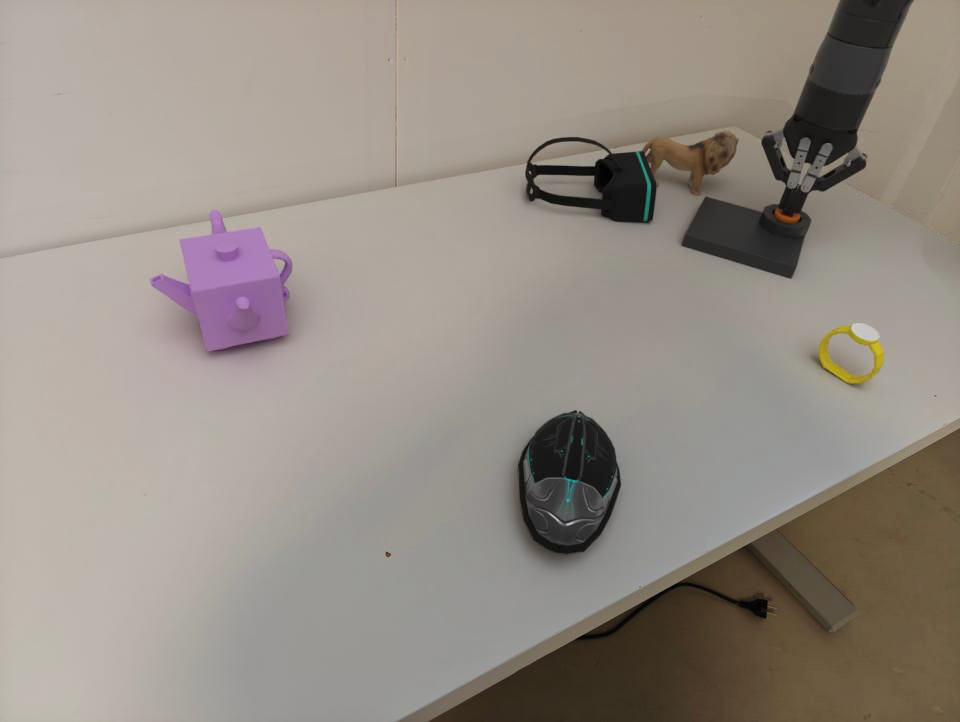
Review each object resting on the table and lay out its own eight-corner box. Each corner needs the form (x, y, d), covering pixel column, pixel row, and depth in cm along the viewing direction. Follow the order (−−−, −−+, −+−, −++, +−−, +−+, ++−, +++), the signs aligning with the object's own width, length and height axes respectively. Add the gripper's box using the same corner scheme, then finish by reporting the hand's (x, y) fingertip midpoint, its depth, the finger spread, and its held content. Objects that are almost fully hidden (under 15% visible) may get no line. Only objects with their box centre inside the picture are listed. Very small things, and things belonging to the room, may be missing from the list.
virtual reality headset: (652, 223, 93) (661, 153, 86) (527, 229, 94) (526, 159, 87) (639, 185, 101) (646, 118, 94) (524, 190, 102) (523, 124, 95)
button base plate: (803, 234, 94) (813, 212, 92) (791, 279, 86) (802, 255, 83) (702, 206, 98) (709, 184, 96) (681, 246, 90) (688, 222, 87)
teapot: (158, 289, 75) (135, 209, 69) (280, 268, 80) (269, 191, 73) (178, 398, 63) (152, 314, 57) (319, 366, 68) (310, 285, 61)
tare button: (797, 223, 92) (801, 211, 91) (793, 233, 90) (798, 222, 89) (772, 216, 93) (777, 204, 92) (769, 226, 91) (773, 215, 90)
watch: (806, 363, 74) (829, 320, 70) (819, 354, 75) (842, 310, 71) (859, 395, 70) (886, 351, 66) (872, 384, 72) (899, 341, 68)
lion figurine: (721, 184, 104) (740, 126, 98) (723, 201, 100) (743, 142, 94) (623, 170, 105) (637, 112, 99) (622, 185, 101) (636, 126, 95)
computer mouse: (622, 425, 65) (635, 380, 61) (609, 582, 52) (625, 538, 48) (531, 407, 66) (539, 362, 62) (498, 557, 53) (505, 512, 49)
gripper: (905, 83, 80) (842, 215, 91) (788, 58, 84) (742, 188, 95) (903, 103, 75) (837, 240, 86) (779, 75, 78) (731, 210, 90)
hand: (787, 212), depth 91 cm, fingers closed
